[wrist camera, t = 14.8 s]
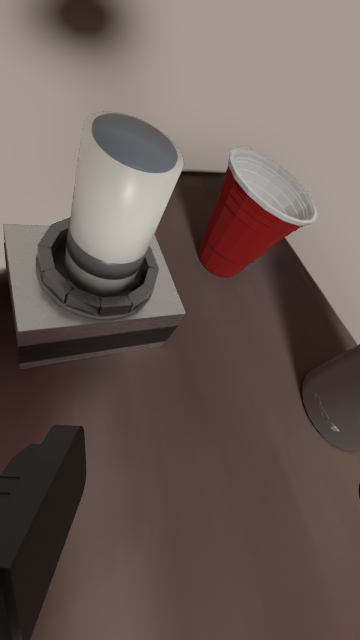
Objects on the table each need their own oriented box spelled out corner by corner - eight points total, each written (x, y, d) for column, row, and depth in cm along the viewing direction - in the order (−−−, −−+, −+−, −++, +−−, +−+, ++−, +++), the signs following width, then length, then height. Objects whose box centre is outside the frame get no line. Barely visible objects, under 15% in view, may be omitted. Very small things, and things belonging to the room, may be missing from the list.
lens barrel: (124, 243, 26) (167, 120, 18) (143, 295, 24) (199, 182, 16) (57, 242, 23) (72, 97, 15) (71, 301, 21) (96, 168, 13)
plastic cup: (268, 291, 40) (341, 221, 31) (201, 299, 35) (264, 217, 25) (233, 229, 44) (287, 152, 35) (168, 228, 39) (212, 135, 30)
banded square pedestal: (135, 271, 33) (158, 217, 27) (161, 346, 29) (194, 303, 24) (6, 274, 27) (0, 207, 21) (19, 370, 23) (16, 319, 18)
